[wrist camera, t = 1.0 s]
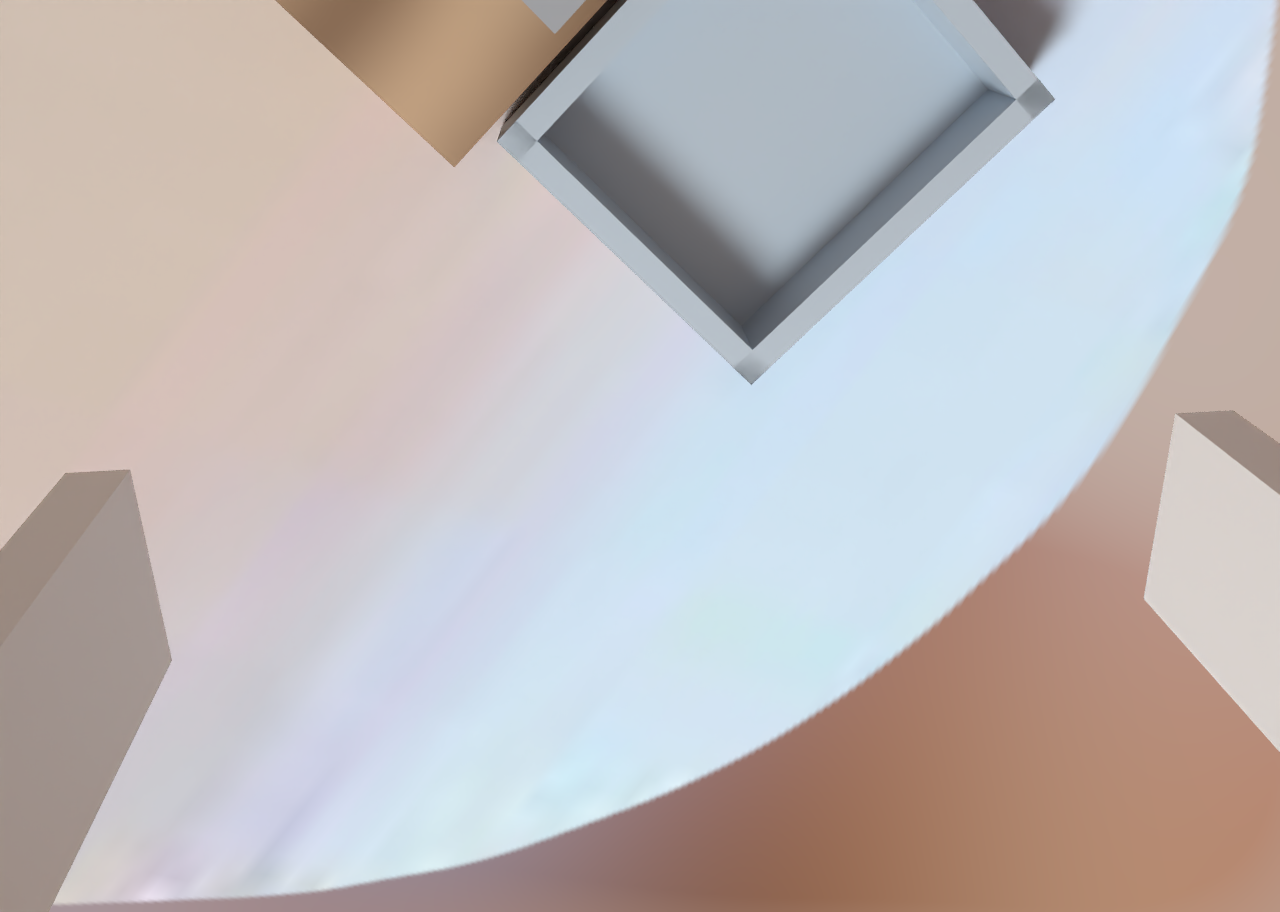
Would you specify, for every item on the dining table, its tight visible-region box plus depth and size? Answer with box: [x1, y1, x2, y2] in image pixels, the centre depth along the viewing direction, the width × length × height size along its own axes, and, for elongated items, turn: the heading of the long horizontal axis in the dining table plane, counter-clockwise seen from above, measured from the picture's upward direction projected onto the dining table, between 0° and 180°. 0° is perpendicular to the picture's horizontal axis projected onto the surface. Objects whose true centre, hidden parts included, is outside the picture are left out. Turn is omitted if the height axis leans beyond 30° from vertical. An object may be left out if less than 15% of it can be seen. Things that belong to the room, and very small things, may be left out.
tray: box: [497, 0, 1055, 385], centre depth 36 cm, size 11×12×3 cm
